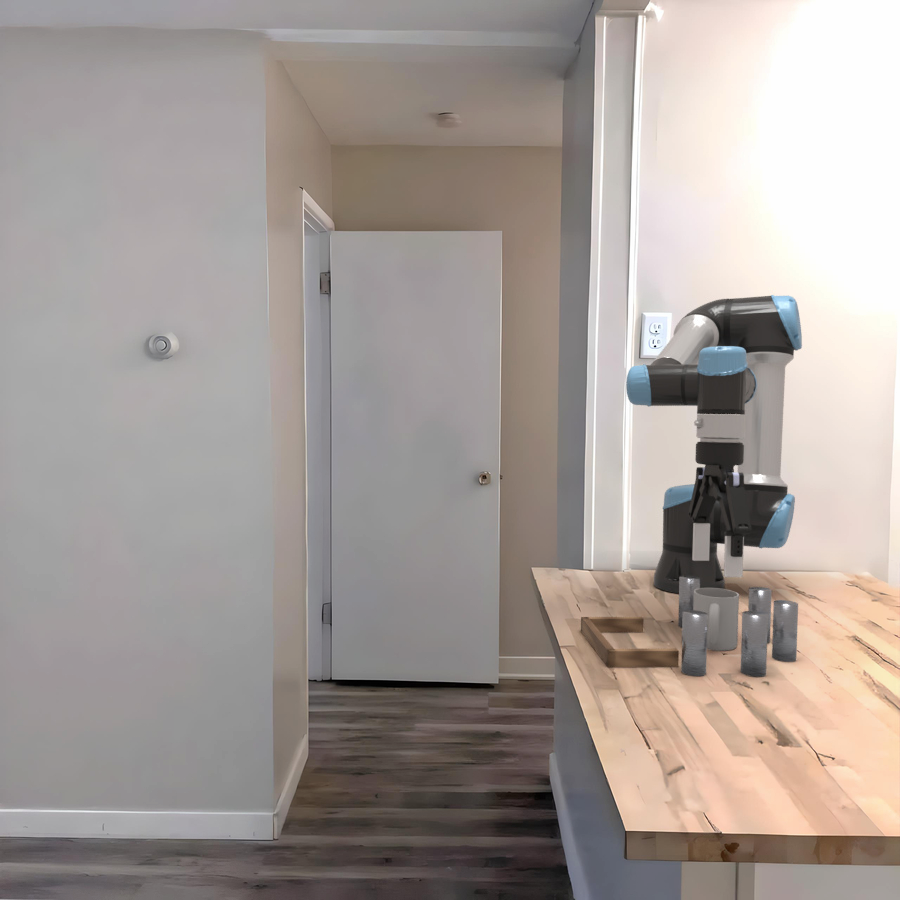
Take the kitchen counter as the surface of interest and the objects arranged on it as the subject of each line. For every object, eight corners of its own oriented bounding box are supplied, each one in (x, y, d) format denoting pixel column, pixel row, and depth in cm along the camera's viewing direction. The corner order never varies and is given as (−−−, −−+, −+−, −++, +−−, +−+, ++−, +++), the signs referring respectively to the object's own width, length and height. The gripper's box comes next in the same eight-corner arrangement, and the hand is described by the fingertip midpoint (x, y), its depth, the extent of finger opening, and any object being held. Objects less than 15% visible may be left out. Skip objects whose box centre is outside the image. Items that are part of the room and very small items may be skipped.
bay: (641, 630, 136) (641, 616, 136) (678, 666, 117) (678, 650, 116) (580, 630, 135) (581, 616, 135) (608, 667, 116) (608, 651, 116)
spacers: (741, 623, 141) (743, 575, 140) (822, 676, 113) (824, 617, 112) (633, 623, 140) (634, 575, 139) (687, 677, 112) (688, 617, 111)
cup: (737, 641, 130) (739, 590, 129) (736, 658, 121) (738, 603, 120) (694, 636, 133) (695, 586, 132) (689, 653, 123) (690, 599, 123)
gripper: (671, 438, 137) (668, 554, 138) (728, 443, 112) (724, 584, 113) (712, 438, 137) (709, 554, 138) (778, 443, 112) (773, 584, 113)
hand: (716, 568), depth 126 cm, fingers open, 13 cm apart
